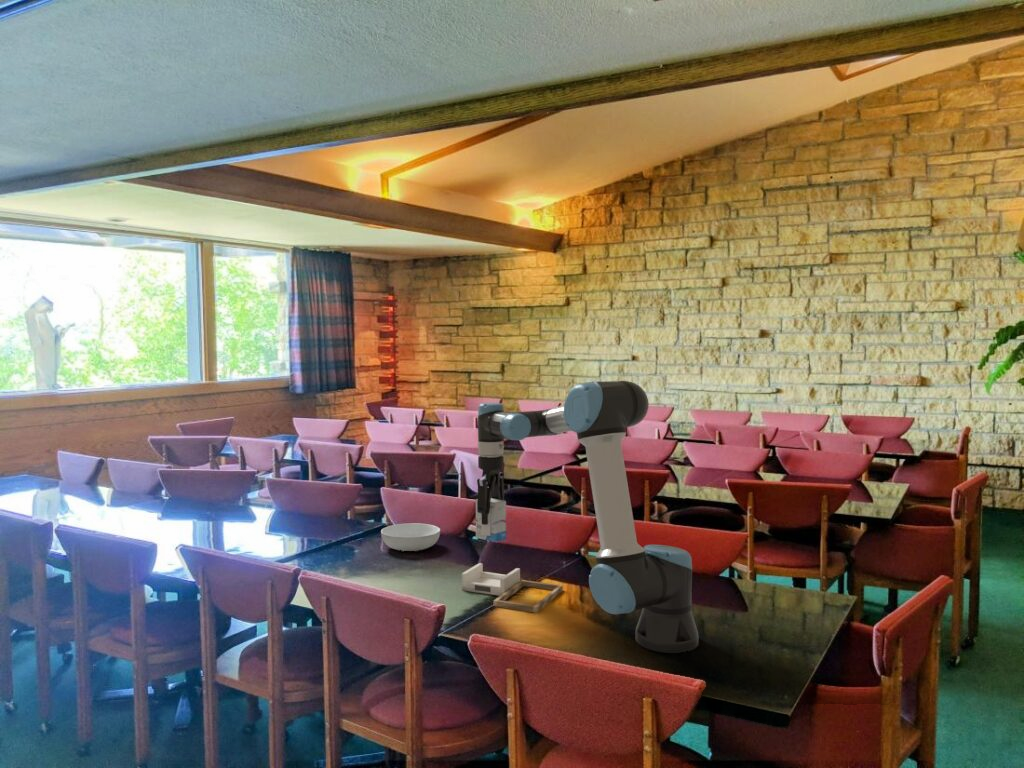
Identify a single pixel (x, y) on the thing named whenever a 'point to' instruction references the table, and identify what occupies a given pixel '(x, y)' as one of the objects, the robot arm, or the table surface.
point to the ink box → (493, 521)
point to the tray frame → (524, 607)
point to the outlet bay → (488, 580)
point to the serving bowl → (410, 536)
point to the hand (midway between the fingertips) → (491, 532)
